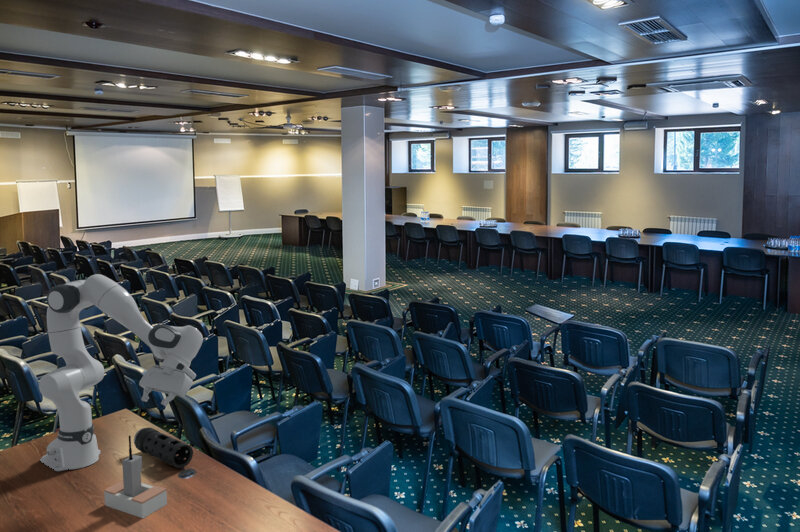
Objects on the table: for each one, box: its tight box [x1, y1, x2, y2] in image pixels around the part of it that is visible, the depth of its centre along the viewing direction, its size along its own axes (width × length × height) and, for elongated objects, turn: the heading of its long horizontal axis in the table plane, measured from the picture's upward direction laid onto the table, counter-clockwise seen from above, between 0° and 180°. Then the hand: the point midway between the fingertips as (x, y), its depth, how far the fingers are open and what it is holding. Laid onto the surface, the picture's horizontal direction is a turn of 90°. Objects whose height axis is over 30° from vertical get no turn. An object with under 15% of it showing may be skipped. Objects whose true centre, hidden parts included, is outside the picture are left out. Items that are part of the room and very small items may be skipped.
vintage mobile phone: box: [122, 435, 143, 498], centre depth 206 cm, size 4×5×25 cm
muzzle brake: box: [133, 427, 194, 470], centre depth 242 cm, size 10×28×10 cm, turn 53°
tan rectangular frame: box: [103, 480, 168, 519], centre depth 208 cm, size 18×10×6 cm, turn 64°
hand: (153, 402), depth 212 cm, fingers open, 8 cm apart
